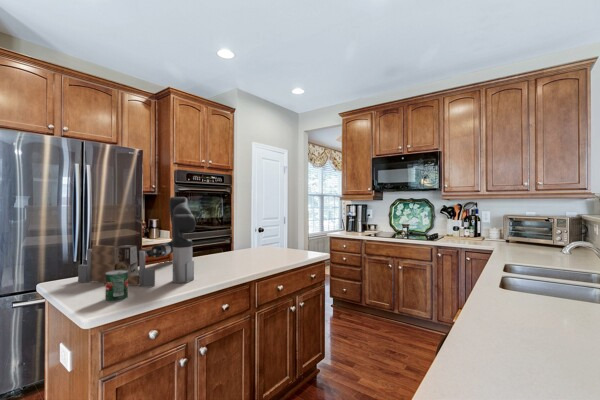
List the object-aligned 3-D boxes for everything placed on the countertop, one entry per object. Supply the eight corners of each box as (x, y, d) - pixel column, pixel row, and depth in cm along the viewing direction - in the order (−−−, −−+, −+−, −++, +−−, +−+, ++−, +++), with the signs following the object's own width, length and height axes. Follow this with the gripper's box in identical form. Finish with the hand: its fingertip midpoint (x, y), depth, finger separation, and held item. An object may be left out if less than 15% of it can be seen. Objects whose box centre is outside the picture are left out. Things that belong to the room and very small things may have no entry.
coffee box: (138, 275, 157) (138, 245, 157) (130, 278, 151) (130, 247, 151) (122, 275, 158) (122, 245, 158) (113, 278, 152) (113, 246, 152)
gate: (139, 284, 140) (139, 247, 140) (137, 284, 139) (137, 247, 139) (93, 280, 145) (93, 245, 145) (91, 281, 144) (91, 245, 144)
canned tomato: (100, 300, 118) (100, 273, 118) (119, 294, 126) (119, 268, 126) (114, 303, 115) (114, 275, 115) (132, 297, 123) (132, 270, 123)
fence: (155, 285, 139) (155, 251, 139) (151, 287, 136) (152, 252, 136) (81, 280, 147) (81, 248, 147) (77, 281, 145) (77, 249, 145)
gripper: (151, 243, 183) (131, 247, 167) (171, 244, 180) (152, 249, 164) (151, 255, 183) (131, 261, 167) (171, 256, 180) (152, 262, 164)
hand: (141, 255), depth 166 cm, fingers open, 8 cm apart
